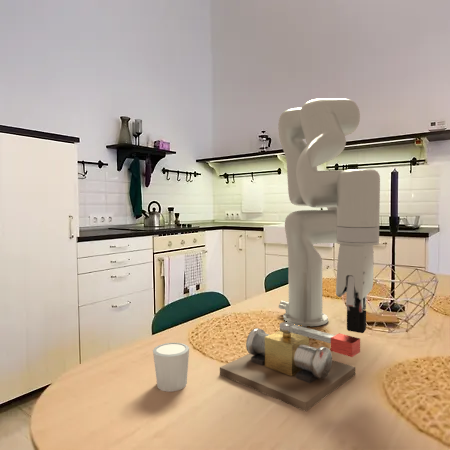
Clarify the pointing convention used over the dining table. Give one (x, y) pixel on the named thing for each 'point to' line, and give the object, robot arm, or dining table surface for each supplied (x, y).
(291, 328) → the valve lever
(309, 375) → the valve pipe
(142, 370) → the dining table surface
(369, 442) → the dining table surface
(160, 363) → the white cup
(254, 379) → the valve board
